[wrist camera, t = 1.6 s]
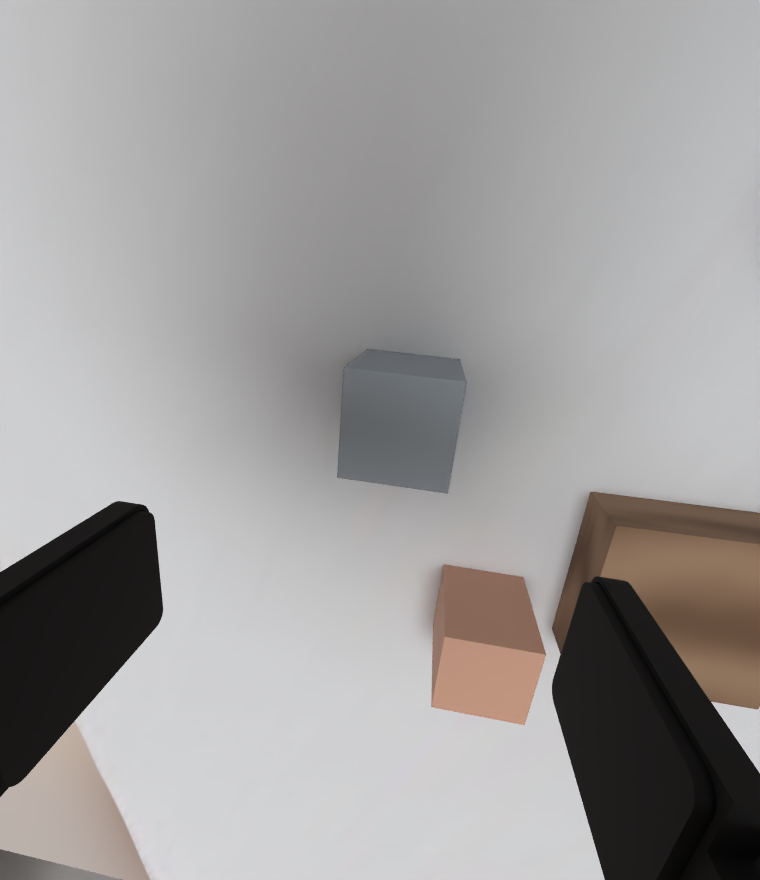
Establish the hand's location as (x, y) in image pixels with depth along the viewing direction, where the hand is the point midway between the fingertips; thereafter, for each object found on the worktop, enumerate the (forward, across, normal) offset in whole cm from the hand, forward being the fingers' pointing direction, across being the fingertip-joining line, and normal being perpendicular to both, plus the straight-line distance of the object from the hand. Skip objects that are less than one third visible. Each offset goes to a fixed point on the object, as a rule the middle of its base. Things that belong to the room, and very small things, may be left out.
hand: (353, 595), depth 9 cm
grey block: (+15, 0, -1) cm, 15 cm away
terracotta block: (+16, -6, +12) cm, 21 cm away
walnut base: (+16, -16, +8) cm, 24 cm away
